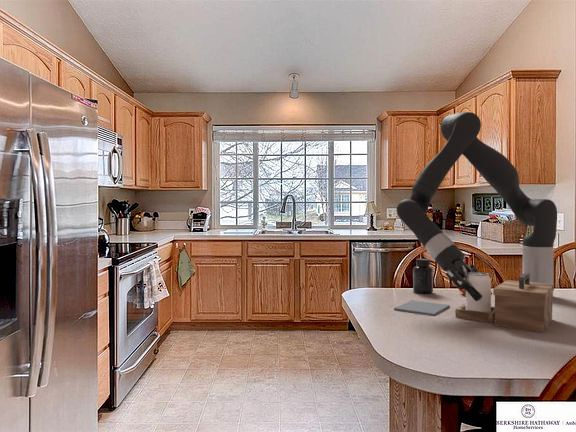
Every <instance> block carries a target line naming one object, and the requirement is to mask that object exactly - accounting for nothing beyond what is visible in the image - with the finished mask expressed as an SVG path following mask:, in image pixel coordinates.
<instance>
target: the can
mask: <svg viewBox="0 0 576 432" xmlns="http://www.w3.org/2000/svg"><path fill="white" fill-rule="evenodd" d="M468 275H469V281H470V283H471V284H472V286H473V287H474V288H475V289H476V290H477V291H478V292H479V293H480V294H481V295H482V298H481V299H480V300H478V301H475V300H474V299H473V298H472V297H471V295H470V294H469V293H468V292H467V291H466V294H465V303H466V310H471V311H479V312H487V313H490V312H491V306H492V295H491V292H492V279H491V277H490V273H488V272H481V271H479V272H469V273H468ZM472 286H471V287H472Z"/></svg>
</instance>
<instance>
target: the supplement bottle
mask: <svg viewBox="0 0 576 432" xmlns="http://www.w3.org/2000/svg"><path fill="white" fill-rule="evenodd" d="M415 265H416V266H414V267H413V269H412V280H413V281H412V291H413V293H414V294H418V295H431V293H432V294H433V292H434V268H433V267H431V259H430V258H416V259H415Z"/></svg>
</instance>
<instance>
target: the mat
mask: <svg viewBox="0 0 576 432" xmlns="http://www.w3.org/2000/svg"><path fill="white" fill-rule="evenodd" d="M450 307H451V305H450V304H444V303H436V302H430V301H429V302H428V301H422V300H409V301H407V302H404V303H402V304H399V305H398V306H396V307H394V308H393V311H397V312H398V311H399V312H404V313H405V312H406V313H411V314H412V313H413V314H418V315H419V314H420V315H426V316H432V317H434V316H437V315H438V314H440V313H442V312H443V311H445V310H448V308H450Z"/></svg>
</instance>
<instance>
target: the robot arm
mask: <svg viewBox="0 0 576 432" xmlns="http://www.w3.org/2000/svg"><path fill="white" fill-rule="evenodd" d="M481 127H482V122H481V119H480V117H479V116H478V115H477V114H476V113H474V112H470V111H464V112H458V113H453V114H449V115H447V116H445V117H444V118H443V119H442V120H441V123H440V132H441V135H442V136H443V138H444V139H445V141H446V143H445V145H444V146H443V148H441V150H440V151H439V152H438V153H437V154H436V155H435V156H434V157H433V158H432V159H431V160H430V161H429V162H428V163H427V164H426V165H425V166H424V168H423V169H422V170H421V172H420V173H419V174H418V177H417V178H416V180H415V182H414V184H413V186H412V188H411V193H412V194H411V196H410V198H404V199H402V200H400V201H399V202H398V204H397V205H396V206H397V207H396V215H397V216H398V218H399V219H400V221H402V223H404V224H405V226H406V227H407V228H409V230H411V232H412V233H413V234H414V236H415V237H416V239H417V240H418V242H420V243H421V245H422V246H423V247H424V248H425V249H426V251H427V253H428V254H429V255H430V257H432V259H433V260H434V261H435V262H436V263H437V265H438V266H439V268H441V269H442V271H444V272H446V273H445V276H446V277H447V278H448V279H450V280H451V282H452V283H453V284H454V285H455V286H456V287H457V289H458V288H459V289H460V290H462V289H464V290H465V291H467V292H468V293H469V294H470V295H471V297H472V298H473V299H474V300H475V301H478V300H480V299H481V298H482V295H481V294H480V293H479V292H478V291H477V290H476V289H475V288H474V287H473V286H472V284H471V283H470V281H469V275H468V273H469V272H480V271H479V270H478V268H477V267H476V266H475V265H474V264H470V265H468V264H467V263H466V262H464V259H465V258H466V255H465V253H464V252H463V251H462V250H461V249H460V248H459V247H458V246H457V245H456V244H455V242H454V241H453V240H452V239H451V238H450V237H449V236H448V235H447V234H445V233H444V231H442V229H441V228H440V227H439V226H438V225H437V224H436V223H435V222H434V221H433V220H431V218H430V217H429V216H428V214H427V211H428V209H429V207H430V204H431V202H432V198H434V196H435V194H436V192H437V191H438V189H439V187H440V186H441V184H442V183H443V182H444V179H445V178H446V176H447V174H448V173H449V172H450V170H451V169H452V168H453V166H454V165H455V164H456V162H457V161H458V160H459V159H460V157H461V156H462V155H463V157H465V158H466V159H467V161H469V163H470V164H471V165H472V166H473V167H474V169H475V170H476V171H477V172H478V173H479V174H480V175H481V176H482V178H484V180H485V181H486V182H487V183H488V184H489V185H490V186H491V187H492V188H493V189H494V191H496V193H497V194H498V195H499V196H500V197H501V198H502V200H503V201H504V202H505V203H506V205H507V206H508V207H509V209H510V210H511V211H512V213H513V214H514V216H515V217H516V219H517V220H518V221H519V222H520V223H522V224H523V225H525V226H527V227H533V231H532V233H530V235H527V236H524V237H523V238H522V271H521V272H522V274H524V273H530V277H529V282H534V283H545V284H554V246H555V245H554V244H555V243H554V242H555V240H556V238H557V228H558V227H557V226H558V209H557V206H556V204H555V202H554V201H553V200H551V199H548V198H544V199H543V198H540V199H538V198H534V199H532V198H530V197H528V196H527V194H525V193H524V191H522V189H521V188H520V178H519V177H520V176H519V172H518V170H517V168H516V167H515V166H514V164H512V162H511V161H510V160H509V159H508V158H507V157H506V156H505V155H504V154H503V153H501V152H499V151H498V150H496V149H495V148H493V147H491V146H490V145H488V144H486V143H484V142H483V141H481V140H480V139H479V137H478V135H479V134H480V131H481ZM522 274H521V275H522ZM524 282H525V281H524ZM471 286H472V287H471ZM459 289H458V290H459ZM460 290H459V291H460ZM491 296H493V292H492V291H491ZM552 299H554V291H553V292H552Z"/></svg>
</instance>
